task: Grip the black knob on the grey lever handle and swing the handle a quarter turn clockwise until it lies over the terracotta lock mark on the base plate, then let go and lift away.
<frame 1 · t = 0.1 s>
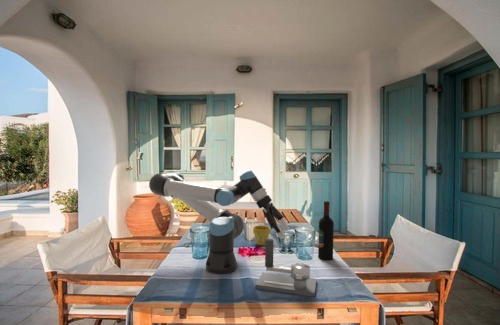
hand: (285, 234, 147), 15 cm above the table, tool tilted 35°, fingers open, 13 cm apart
wine bottle: (325, 258, 157), on the table
plant pot: (261, 243, 180), on the table
base plate: (286, 285, 125), on the table
grey lever handle: (287, 258, 122), point 13 cm above the table, hinge at 0.0°
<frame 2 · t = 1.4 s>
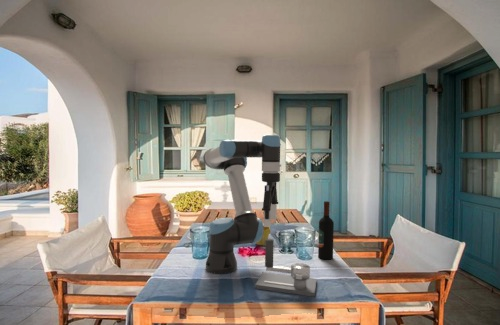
hand: (270, 222, 124), 27 cm above the table, tool pointing down, fingers open, 13 cm apart
nothing on the table moved.
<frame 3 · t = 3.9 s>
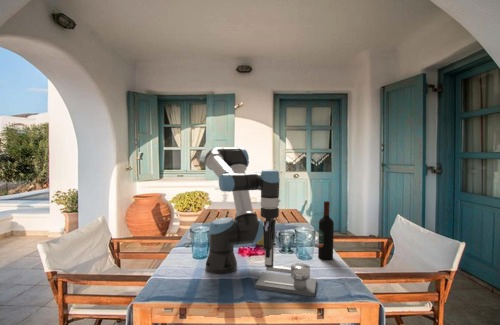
hand: (269, 262, 124), 10 cm above the table, tool pointing down, fingers closed on grey lever handle, 3 cm apart
grey lever handle: (287, 258, 122), point 13 cm above the table, hinge at -0.1°, touching gripper
everything else where it was.
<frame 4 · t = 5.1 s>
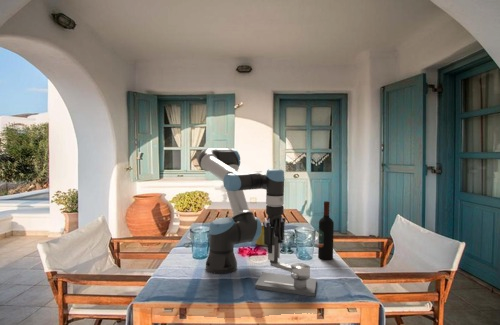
hand: (273, 258, 129), 10 cm above the table, tool pointing down, fingers closed on grey lever handle, 3 cm apart
grey lever handle: (288, 256, 124), point 13 cm above the table, hinge at -22.6°, touching gripper
everything else where it was.
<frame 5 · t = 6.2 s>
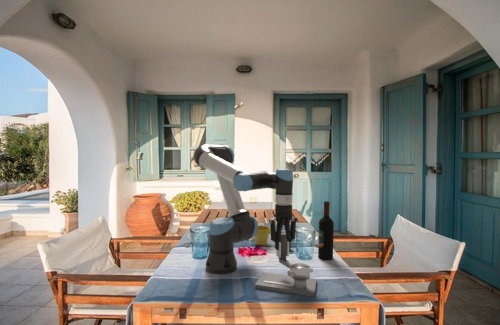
hand: (282, 255, 132), 10 cm above the table, tool pointing down, fingers closed on grey lever handle, 3 cm apart
grey lever handle: (292, 255, 125), point 13 cm above the table, hinge at -46.5°, touching gripper
everything else where it was.
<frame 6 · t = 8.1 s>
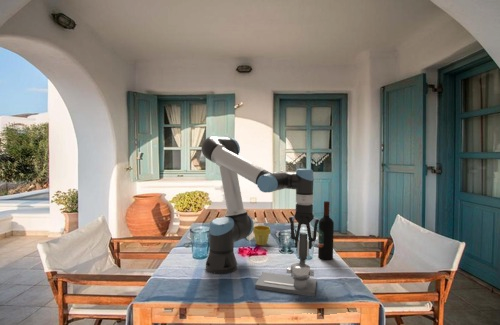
hand: (303, 255, 133), 10 cm above the table, tool pointing down, fingers closed on grey lever handle, 3 cm apart
grey lever handle: (301, 255, 126), point 13 cm above the table, hinge at -89.0°, touching gripper
everything else where it was.
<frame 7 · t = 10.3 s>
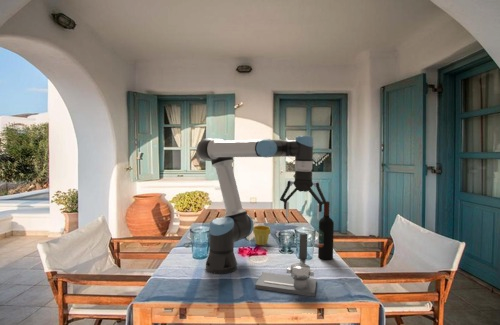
hand: (302, 217, 133), 27 cm above the table, tool pointing down, fingers open, 13 cm apart
grey lever handle: (301, 255, 126), point 13 cm above the table, hinge at -89.1°
everything else where it was.
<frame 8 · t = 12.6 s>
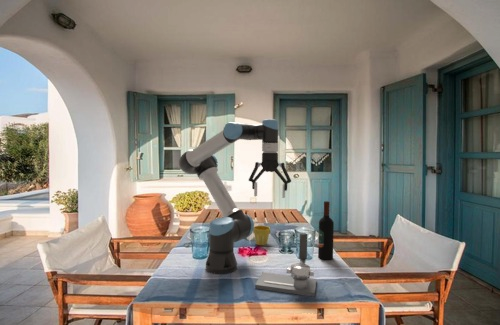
hand: (269, 196, 141), 35 cm above the table, tool pointing down, fingers open, 13 cm apart
nothing on the table moved.
at the end: grey lever handle at -89° (first picture: +0°); the gripper is holding nothing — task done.
